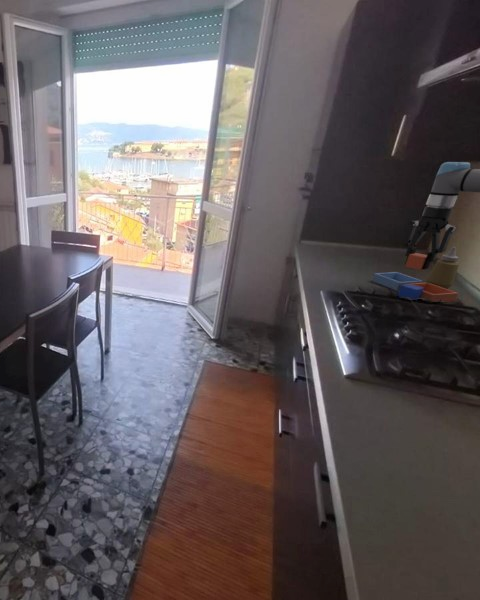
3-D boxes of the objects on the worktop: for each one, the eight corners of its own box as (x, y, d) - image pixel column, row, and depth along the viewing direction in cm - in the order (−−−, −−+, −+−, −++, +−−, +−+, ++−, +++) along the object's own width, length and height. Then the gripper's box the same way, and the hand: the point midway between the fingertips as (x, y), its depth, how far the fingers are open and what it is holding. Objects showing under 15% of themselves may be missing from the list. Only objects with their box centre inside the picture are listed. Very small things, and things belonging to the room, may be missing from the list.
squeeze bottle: (446, 288, 149) (464, 246, 142) (452, 294, 143) (472, 251, 136) (420, 284, 153) (437, 243, 146) (425, 290, 147) (443, 248, 139)
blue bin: (419, 289, 148) (423, 281, 147) (396, 290, 147) (399, 282, 145) (393, 279, 159) (396, 271, 157) (371, 281, 157) (374, 273, 155)
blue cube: (418, 299, 138) (424, 287, 136) (411, 301, 136) (416, 289, 134) (403, 295, 142) (408, 283, 140) (396, 297, 141) (401, 285, 139)
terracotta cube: (427, 268, 139) (431, 255, 137) (420, 270, 137) (424, 257, 136) (411, 264, 144) (416, 252, 142) (404, 266, 142) (409, 254, 140)
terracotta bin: (454, 301, 137) (458, 293, 135) (429, 303, 135) (433, 294, 133) (423, 290, 147) (427, 282, 145) (400, 292, 145) (403, 284, 144)
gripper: (476, 209, 125) (450, 272, 134) (415, 203, 140) (395, 259, 149) (466, 211, 122) (439, 274, 131) (404, 204, 137) (384, 262, 147)
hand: (416, 266), depth 140 cm, fingers closed on terracotta cube, 5 cm apart
